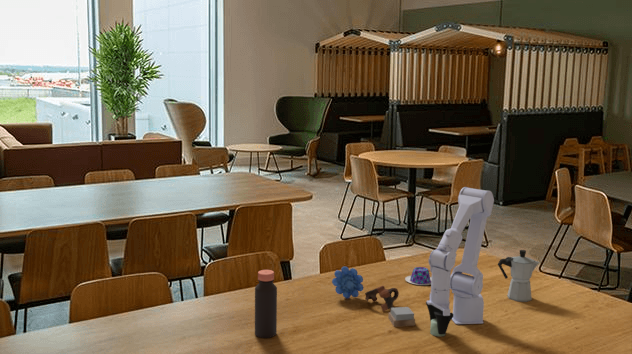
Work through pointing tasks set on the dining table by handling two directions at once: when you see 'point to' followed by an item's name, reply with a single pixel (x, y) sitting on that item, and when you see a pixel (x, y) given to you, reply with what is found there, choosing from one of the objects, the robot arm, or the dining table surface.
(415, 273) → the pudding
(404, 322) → the tower base
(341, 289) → the blue flower
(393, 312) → the tower top
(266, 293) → the bottle
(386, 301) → the pottery mug
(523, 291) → the coffee maker
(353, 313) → the dining table surface
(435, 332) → the green cylinder
